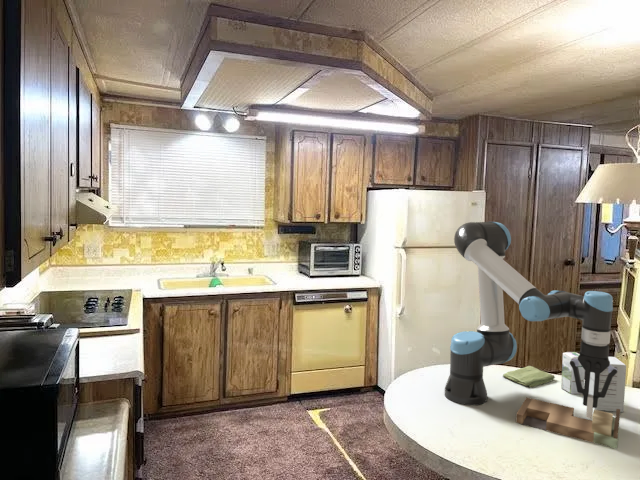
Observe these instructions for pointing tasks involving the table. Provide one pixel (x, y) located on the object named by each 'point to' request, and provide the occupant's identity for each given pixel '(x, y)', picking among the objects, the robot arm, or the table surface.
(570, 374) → the syrup box
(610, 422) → the maple block
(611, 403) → the supplement box
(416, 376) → the table surface
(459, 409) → the table surface
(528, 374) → the washcloth
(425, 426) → the table surface
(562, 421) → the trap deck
